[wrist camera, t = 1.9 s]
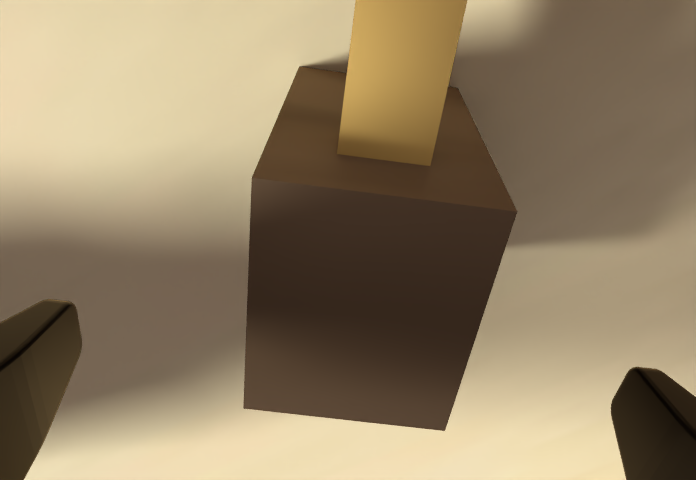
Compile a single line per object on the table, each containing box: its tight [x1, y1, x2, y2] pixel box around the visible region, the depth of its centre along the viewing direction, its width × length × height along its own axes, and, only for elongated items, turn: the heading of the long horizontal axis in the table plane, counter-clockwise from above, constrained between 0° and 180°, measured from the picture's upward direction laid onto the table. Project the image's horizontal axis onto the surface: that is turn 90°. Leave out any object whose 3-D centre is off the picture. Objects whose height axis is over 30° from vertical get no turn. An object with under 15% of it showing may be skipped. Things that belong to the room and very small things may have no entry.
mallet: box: [244, 0, 517, 431], centre depth 10 cm, size 13×4×6 cm, turn 173°
